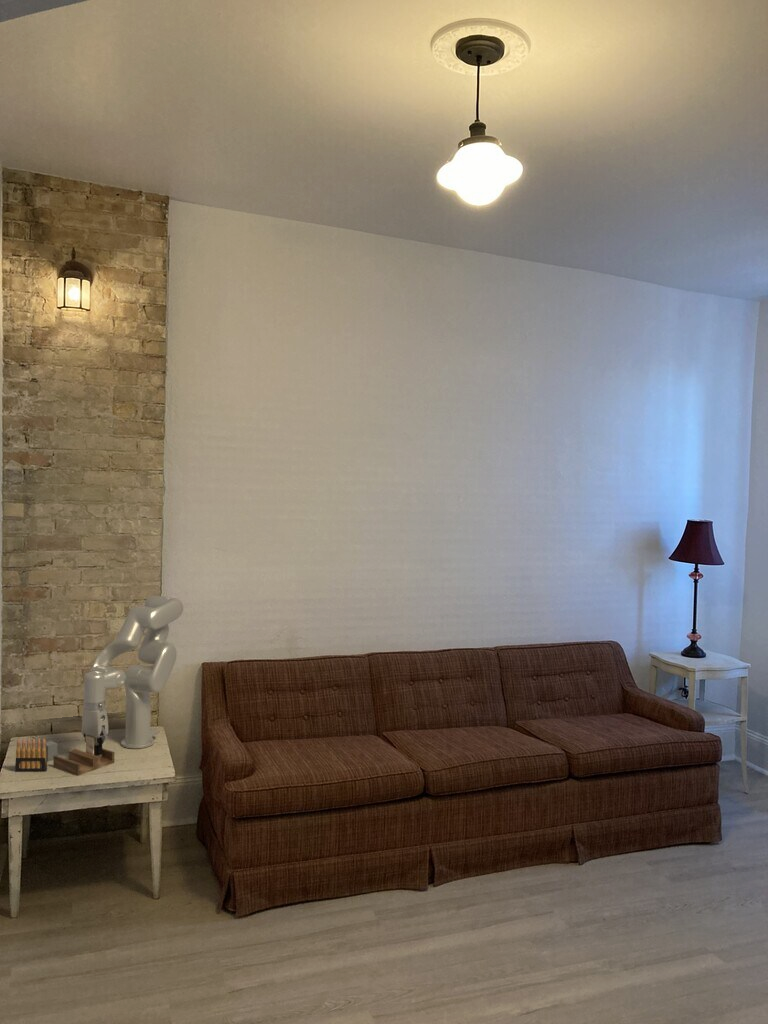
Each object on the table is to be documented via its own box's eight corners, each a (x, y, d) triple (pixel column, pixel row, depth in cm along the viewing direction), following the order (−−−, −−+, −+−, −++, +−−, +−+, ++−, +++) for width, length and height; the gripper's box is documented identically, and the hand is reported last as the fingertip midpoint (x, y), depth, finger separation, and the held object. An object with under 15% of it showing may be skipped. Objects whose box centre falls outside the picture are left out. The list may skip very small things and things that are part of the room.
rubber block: (50, 756, 311) (50, 740, 310) (57, 758, 309) (57, 743, 308) (41, 759, 307) (41, 743, 307) (47, 761, 305) (48, 745, 305)
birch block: (94, 753, 310) (94, 733, 309) (101, 756, 308) (101, 735, 307) (85, 756, 306) (85, 735, 306) (92, 759, 304) (93, 738, 304)
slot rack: (89, 754, 314) (89, 744, 314) (114, 762, 307) (114, 752, 306) (53, 766, 300) (53, 756, 300) (78, 775, 293) (78, 764, 293)
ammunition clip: (14, 771, 295) (15, 739, 294) (16, 770, 296) (16, 737, 296) (45, 771, 296) (46, 739, 295) (47, 769, 298) (47, 737, 297)
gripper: (117, 707, 305) (117, 755, 306) (88, 698, 313) (87, 745, 315) (101, 712, 298) (100, 761, 299) (71, 703, 307) (71, 751, 308)
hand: (94, 752), depth 307 cm, fingers closed on birch block, 4 cm apart
